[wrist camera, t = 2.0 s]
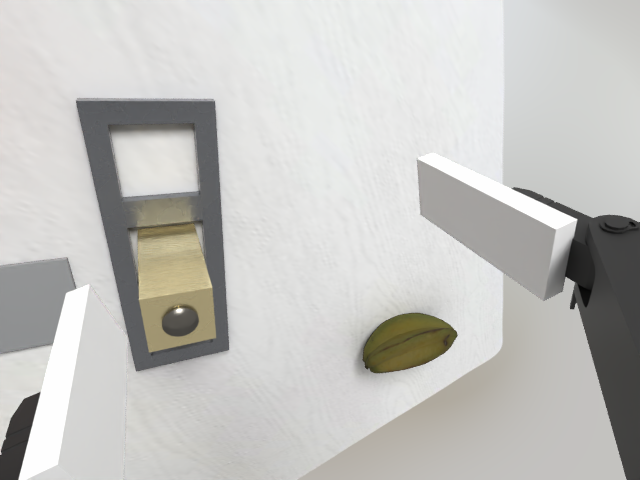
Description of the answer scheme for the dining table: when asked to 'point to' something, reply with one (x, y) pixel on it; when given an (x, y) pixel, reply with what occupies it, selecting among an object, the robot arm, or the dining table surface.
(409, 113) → the dining table surface
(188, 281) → the brass block with knob
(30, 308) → the pad
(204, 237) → the grey triple frame
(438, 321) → the fruit
